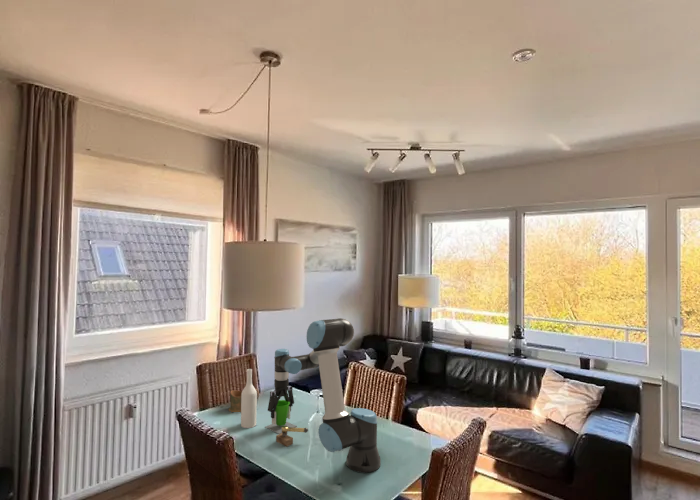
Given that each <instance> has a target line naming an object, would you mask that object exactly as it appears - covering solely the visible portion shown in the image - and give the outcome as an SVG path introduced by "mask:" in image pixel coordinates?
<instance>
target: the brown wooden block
mask: <svg viewBox="0 0 700 500" xmlns="http://www.w3.org/2000/svg"><path fill="white" fill-rule="evenodd" d="M275 442H277V443H278V444H280V445H281V446H283V447H286V448H287V447H289V446H291V445H293V444H294V437H292V436H291V435H288V432H286V433H283V432H282V433H281V434H277V435H275Z"/></svg>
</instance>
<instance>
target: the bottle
mask: <svg viewBox="0 0 700 500" xmlns="http://www.w3.org/2000/svg"><path fill="white" fill-rule="evenodd" d="M255 389H256V388H255V386H254V385H253V369H252V368H248V369H246V385H245V387H243V389H242V394H241V413H240V426H241V428H244V429H252V428H254V427H256V426H257V407H258V406H257V400H258V399H257V397H258V391H256V390H255Z"/></svg>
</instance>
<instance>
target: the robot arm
mask: <svg viewBox="0 0 700 500" xmlns="http://www.w3.org/2000/svg"><path fill="white" fill-rule="evenodd" d="M306 330H307V331H306V343H307V345H308V347H309V348H310V349H312V351H311V352H310V353H307V354H301V355H296V356H291V355H290V351H289V349H286V348H278V349H276V350H275V351H274V385H273V386H274V390H273V391H269V401H268V405H267V406H268V407H267V412H270V418H271V424H274V425H275V424H276V411H275V410H276V407H277V404H278V401H279V400H281V398H282V397H283V398H284V400H286V401H287V402H290V404H289V407H288V413H287V419H288V420H290V419H291V412H292V407H293V405H294V404H295V398H294V392H293V389H294V387H293V386H291V385H289V383H290V382H289V377H290V375H289V374H292V375H297V374H299V373H300V371H304V370H310V369H311V370H312V369H316V368H319V375H320V384H321V389H322V390H321V391H322V398H323V399H322V400H323V407H324V414H323V415H322V419H321V420H322V423H321V424H320V425H319V426H318V438H319V441H320V443H321V445H322V447H324V449H325V450H326V451H327V452H329V453H335V452H338V451H339V452H340V451H342V450H344V449H346V448H347V449H348V453H347V455H346V466H347V467H348V468H349V469H350V470H352V471H353V472H357V473H364V474H365V473H372V472H375V471H377V470H378V469H379V468H380V467H381V456H380V453H379V448H378V446H377V445H378V443H377V442H378V438H377V437H378V416H377V414H376V412H375V411H373V410H371V409H367V408H363V407H362V408H361V407H359V408H358V407H355V408H353V409H351V410H350V413H349V412H348V411H347V410H346V407H345V399H344V394H343V387H342V380H341V371H340V365H339V360H338V352H339V350H340V348H341V347H345V346H346V345H348V344H349V343H350V342H351V341H352V340H353V338H354V335H355V330H354V326H353V324H352V323H351V321H349V320H347V319H346V318H338V317H337V318H333V319H332V318H331V319H321V320H320V319H319V320H316V321H312V322H311V323H310V324H309V326H308V328H307V329H306Z"/></svg>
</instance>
